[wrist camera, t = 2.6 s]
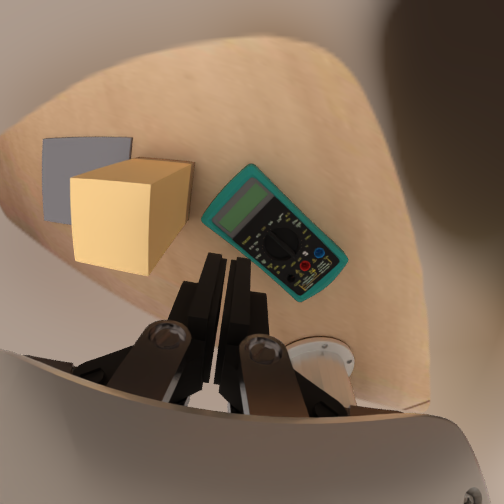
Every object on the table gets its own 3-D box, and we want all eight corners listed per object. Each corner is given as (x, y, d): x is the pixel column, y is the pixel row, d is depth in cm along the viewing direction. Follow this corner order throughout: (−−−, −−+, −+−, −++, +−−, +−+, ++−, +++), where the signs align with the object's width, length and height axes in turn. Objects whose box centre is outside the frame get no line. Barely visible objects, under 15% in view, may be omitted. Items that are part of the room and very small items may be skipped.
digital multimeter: (300, 295, 32) (303, 310, 29) (201, 212, 28) (196, 220, 25) (346, 254, 30) (355, 266, 27) (249, 159, 26) (249, 162, 23)
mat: (127, 232, 28) (126, 233, 28) (46, 219, 28) (44, 220, 27) (132, 137, 24) (130, 137, 24) (45, 138, 24) (43, 139, 23)
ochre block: (188, 219, 28) (148, 276, 17) (136, 212, 28) (75, 260, 17) (194, 162, 25) (150, 184, 15) (139, 157, 25) (70, 177, 14)
